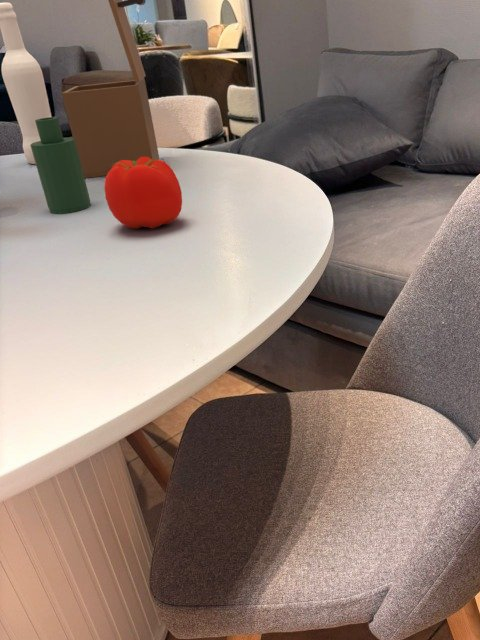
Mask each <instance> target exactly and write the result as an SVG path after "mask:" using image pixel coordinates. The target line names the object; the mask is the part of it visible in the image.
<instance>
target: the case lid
mask: <svg viewBox="0 0 480 640" xmlns="http://www.w3.org/2000/svg"><path fill="white" fill-rule="evenodd" d="M146 1H147V0H108V4H109V7H110V10H111V13H112V16H113V19H114V22H115V25H116V28H117V31H118V35H119V37H120V40H121V44H122V47H123V49H124V53H125V55H126V58H127V61H128V64H129V67H130V70H131V74H132V76H133V80H135V83H137V82H140V81H141V80H142V79H145V77H146V76H147V75H146V71H145V69H144V65H143V63H142V59H141V56H140V53H139V50H138V47H137V43H136V40H135V37H134V34H133V31H132V28H131V24H130V21H129V17H128V15H127V12H126V9H125V8H126V7H129V6H133V5H139V6H144V5H145V4H146Z"/></svg>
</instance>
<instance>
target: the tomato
mask: <svg viewBox="0 0 480 640" xmlns="http://www.w3.org/2000/svg"><path fill="white" fill-rule="evenodd" d="M154 160H157V159H150V158H148V157H140V158H139V159H138V160H137V161H136V162H135V161H129V160H121V161H119V162H117V163H116V164H115V163H114V164H115V165H114V166H113V167H112V169H111V170H110V171H109V172H108V174H107V176H105V177H104V187H103V188H104V194H105V195H104V196H105V201H106V203H107V206H108V209H109V210H110V212H111V214H112V215H113V217H114V218H115V219H116V220H117V221H118V222H119V223H120V224H122V225H124V226H126V227H127V228H130V229H141V228H143V227H144V228H150V229H156V228H158V227H161V226H162V225H169V224H171V223H173V222H174V221H175V220H177V218H178V217H179V216H180V213H181V212H182V206H183V193H182V189H181V186H180V182H179V179H178V177H177V176H176V174H175V172H174V170H173V169H172V168H171V166H170V165H169V164H168V163H167V162H166V161H164V160H161V159H158V160H157V161H154ZM112 165H113V164H112Z"/></svg>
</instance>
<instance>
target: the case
mask: <svg viewBox="0 0 480 640" xmlns="http://www.w3.org/2000/svg"><path fill="white" fill-rule="evenodd" d="M146 85H147V84H146V81H145V78H143V79H142V80H141V81H140V82H137V83H135V80H134V79H133V80H123V81H114V82H103V83H93V84H85V85H75V86H73V87H71V88H69V89H67V90H65V91H62V93H61V96H62V100H63V103H64V108H65V112H66V116H67V120H68V123H69V128H70V132H71V135H72V138H74V139H75V142H76V146H77V150H78V154H79V158H80V162H81V166H82V170H83V174H84V178H85V179H91V178H97V177H106V176H107V174H108V172H109V171H110V170H111V169H112V167H113V166H114V165H115V164H116V163H117V162H119V161H121V160H129V161H135V162H136V161H137V160H138V159H139V158H140V157H148V158H150V159H157V160H160V154H159V148H158V144H157V143H158V142H157V137H156V133H155V129H154V123H153V116H152V112H151V107H150V101H149V96H148V90H147V86H146ZM157 160H154V161H157ZM114 163H115V164H114ZM112 164H113V165H112ZM90 177H91V178H90Z"/></svg>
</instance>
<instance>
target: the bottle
mask: <svg viewBox="0 0 480 640" xmlns="http://www.w3.org/2000/svg"><path fill="white" fill-rule="evenodd" d="M17 18H18V16H17V13H16V12H15V10H14V6H13V4H12V3H10V2H0V32H1V36H2V39H3V40H2V41H3V44H4V47H5V48H4V49H5V54H4V57H3V59H2V61H1V70H0V71H1V76H2V79H3V83H4V85H5V88H6V92H7V94H8V97H9V100H10V102H11V105H12V108H13V111H14V114H15V117H16V120H17V123H18V125H19V129H20V132H21V135H22V150H23V153H24V157H25V158H26V161H27V162H28V163H29V164H30V165H36V163H35V160H34V156H33V153H32V149H31V146H30V145H31V144H32V143H35V142H38V141H41V140H40V137H39V133H38V129H37V126H36V122H35V120H37V119H41V118H48V117H52V112H51V107H50V103H49V97H48V93H47V89H46V84H45V79H44V75H43V74H44V73H43V70H42V68H41V66H40V63H39V62H38V61H37V59H36V58H34V56H33V55H32V54H31V53H29V52H28V50H27V49H26V46H25V44H24V40H23V36H22V33H21V30H20V26H19V24H18V19H17Z"/></svg>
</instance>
